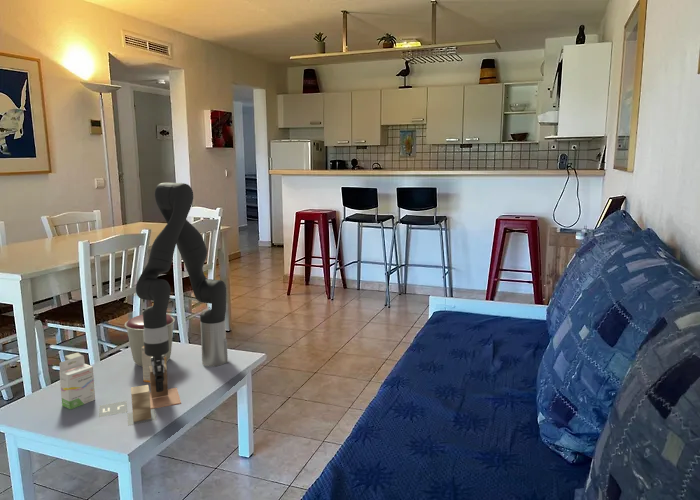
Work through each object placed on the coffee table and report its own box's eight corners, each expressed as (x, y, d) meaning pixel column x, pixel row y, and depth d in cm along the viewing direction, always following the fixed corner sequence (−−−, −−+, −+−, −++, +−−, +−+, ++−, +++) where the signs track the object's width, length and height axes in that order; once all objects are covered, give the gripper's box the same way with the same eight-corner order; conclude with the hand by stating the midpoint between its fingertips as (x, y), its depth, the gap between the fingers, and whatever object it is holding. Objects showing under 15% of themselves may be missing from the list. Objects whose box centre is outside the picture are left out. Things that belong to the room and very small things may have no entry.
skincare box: (88, 390, 172) (85, 356, 170) (74, 394, 169) (71, 360, 167) (81, 384, 176) (78, 351, 174) (67, 388, 173) (64, 355, 171)
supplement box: (155, 383, 178) (153, 348, 175) (143, 382, 178) (140, 347, 176) (168, 374, 185) (166, 340, 183) (156, 372, 186) (154, 339, 184)
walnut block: (166, 389, 169) (165, 363, 167) (168, 395, 164) (166, 369, 163) (150, 391, 167) (149, 366, 165) (151, 398, 162) (150, 372, 161)
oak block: (150, 411, 158) (148, 384, 156) (151, 418, 153) (149, 391, 152) (132, 414, 156) (130, 387, 154) (133, 422, 151) (131, 394, 150)
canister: (164, 372, 187) (160, 318, 183) (117, 370, 188) (113, 316, 184) (184, 354, 204) (182, 304, 200) (142, 352, 206) (138, 302, 202)
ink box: (70, 410, 158) (66, 366, 156) (61, 406, 161) (57, 362, 158) (96, 399, 165) (92, 357, 163) (87, 395, 168) (84, 354, 165)
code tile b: (154, 408, 160) (154, 408, 160) (156, 420, 153) (156, 420, 153) (127, 413, 156) (127, 413, 156) (128, 425, 149) (128, 425, 149)
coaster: (176, 388, 174) (176, 387, 174) (181, 403, 163) (181, 402, 163) (139, 395, 169) (139, 393, 169) (141, 411, 158) (141, 409, 158)
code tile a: (126, 401, 164) (126, 400, 164) (127, 412, 157) (127, 411, 157) (99, 405, 161) (99, 405, 161) (98, 417, 154) (98, 417, 154)
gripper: (170, 344, 157) (173, 395, 160) (166, 330, 170) (168, 377, 173) (145, 347, 154) (148, 399, 157) (142, 333, 167) (145, 381, 170)
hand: (159, 387), depth 165 cm, fingers closed on walnut block, 5 cm apart
